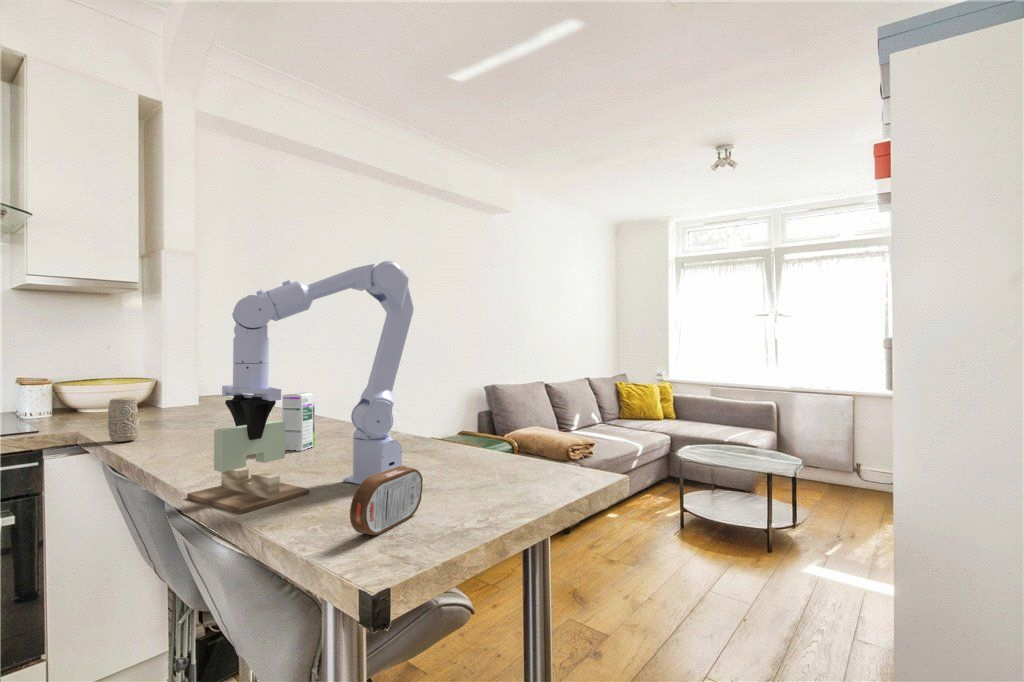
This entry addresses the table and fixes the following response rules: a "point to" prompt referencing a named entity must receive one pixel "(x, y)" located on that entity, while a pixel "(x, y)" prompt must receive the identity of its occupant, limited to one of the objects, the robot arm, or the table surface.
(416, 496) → the tin
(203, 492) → the slotted base
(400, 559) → the table surface
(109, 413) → the carving
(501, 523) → the table surface
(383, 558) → the table surface
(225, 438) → the sage plate
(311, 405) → the syrup box
